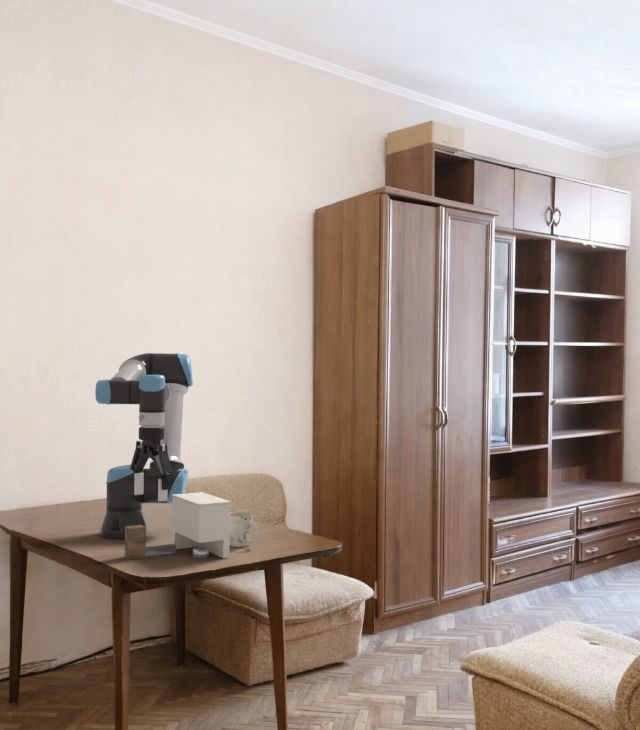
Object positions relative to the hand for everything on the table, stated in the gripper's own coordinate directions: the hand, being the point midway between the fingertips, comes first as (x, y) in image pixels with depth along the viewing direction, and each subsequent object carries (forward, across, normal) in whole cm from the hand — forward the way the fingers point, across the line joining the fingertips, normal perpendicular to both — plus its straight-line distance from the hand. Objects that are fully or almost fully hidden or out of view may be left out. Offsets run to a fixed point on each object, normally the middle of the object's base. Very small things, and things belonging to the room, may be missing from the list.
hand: (150, 497), depth 234 cm
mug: (+18, +6, +31) cm, 36 cm away
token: (+18, +8, +13) cm, 24 cm away
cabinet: (+18, +5, +15) cm, 24 cm away
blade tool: (+18, -2, +2) cm, 18 cm away
